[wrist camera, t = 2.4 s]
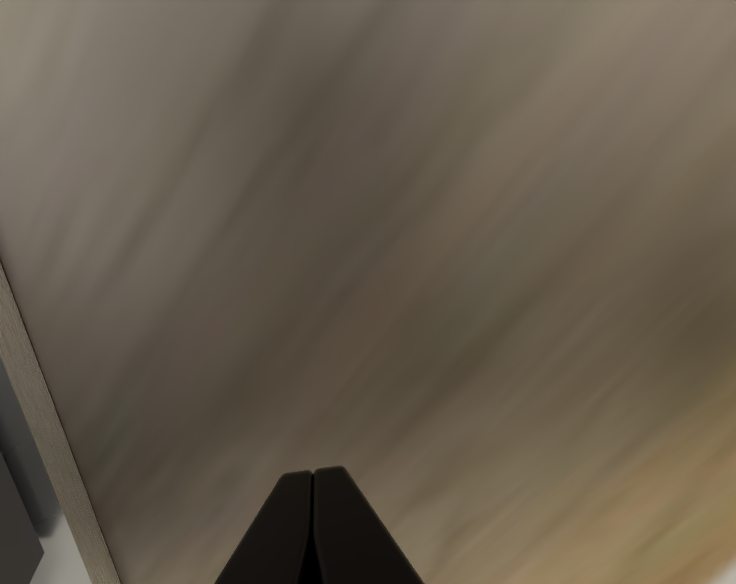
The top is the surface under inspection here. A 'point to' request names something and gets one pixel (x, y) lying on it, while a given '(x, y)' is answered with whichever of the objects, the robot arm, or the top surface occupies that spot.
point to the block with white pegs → (16, 534)
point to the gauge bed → (45, 463)
